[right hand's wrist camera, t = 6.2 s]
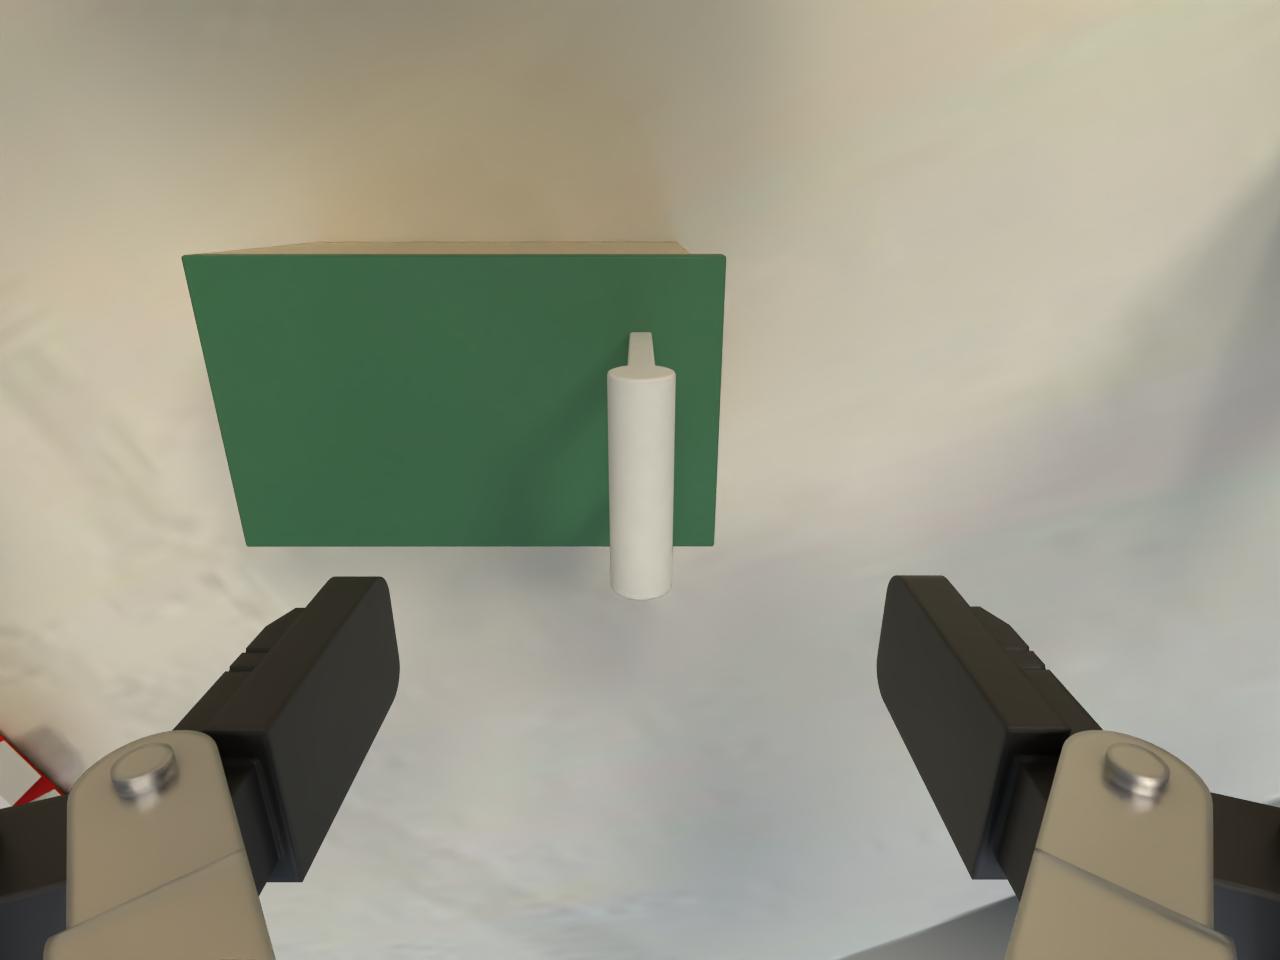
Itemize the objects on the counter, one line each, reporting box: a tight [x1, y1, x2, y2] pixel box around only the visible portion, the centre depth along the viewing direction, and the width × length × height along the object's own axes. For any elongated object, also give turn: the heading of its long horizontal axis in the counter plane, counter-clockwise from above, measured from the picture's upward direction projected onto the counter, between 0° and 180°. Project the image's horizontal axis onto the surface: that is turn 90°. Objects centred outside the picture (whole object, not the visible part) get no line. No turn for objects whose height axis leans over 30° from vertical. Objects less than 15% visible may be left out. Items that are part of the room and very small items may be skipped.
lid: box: [182, 254, 726, 600], centre depth 20 cm, size 17×10×8 cm, turn 90°
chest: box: [203, 242, 690, 254], centre depth 28 cm, size 16×10×9 cm, turn 90°
